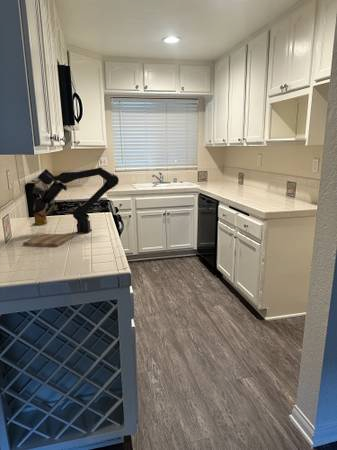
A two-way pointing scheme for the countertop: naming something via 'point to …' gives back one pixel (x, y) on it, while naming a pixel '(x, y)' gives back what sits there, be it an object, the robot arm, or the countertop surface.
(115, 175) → the robot arm
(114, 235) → the countertop surface
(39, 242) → the walnut board
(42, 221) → the condiment
